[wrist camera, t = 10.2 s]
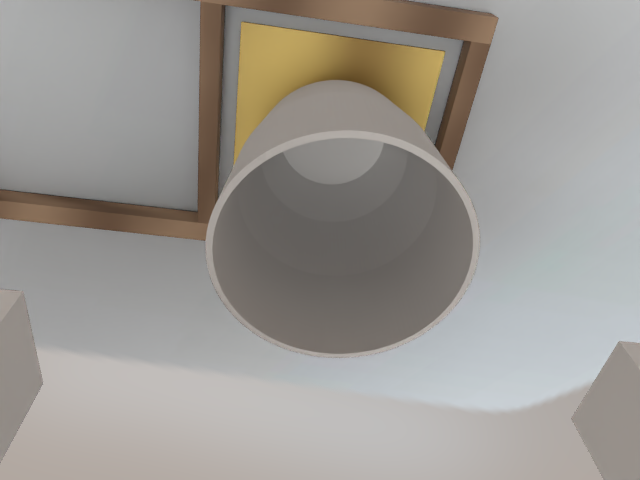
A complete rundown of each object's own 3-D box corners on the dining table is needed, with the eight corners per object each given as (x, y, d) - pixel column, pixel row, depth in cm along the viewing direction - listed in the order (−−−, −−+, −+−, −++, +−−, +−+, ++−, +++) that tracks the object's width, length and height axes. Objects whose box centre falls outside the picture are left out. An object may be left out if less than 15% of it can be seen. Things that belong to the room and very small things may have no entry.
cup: (368, 234, 27) (394, 384, 18) (219, 175, 25) (172, 313, 16) (453, 92, 23) (536, 200, 14) (283, 9, 21) (265, 78, 12)
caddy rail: (-254, 178, 25) (-274, 188, 24) (-410, -125, 18) (-444, -126, 17) (420, 253, 28) (423, 264, 27) (491, 13, 21) (498, 17, 20)
